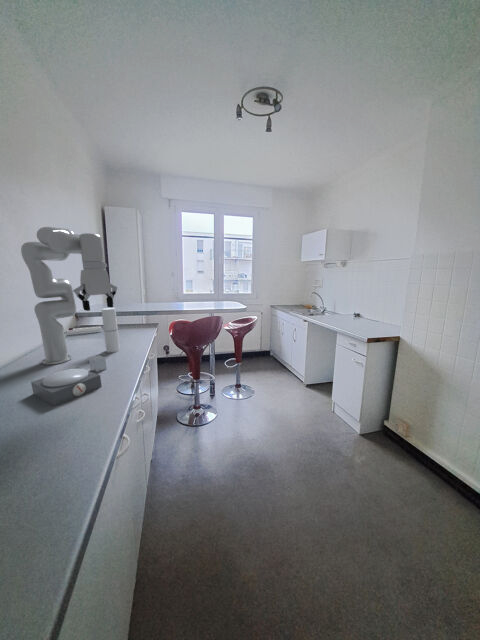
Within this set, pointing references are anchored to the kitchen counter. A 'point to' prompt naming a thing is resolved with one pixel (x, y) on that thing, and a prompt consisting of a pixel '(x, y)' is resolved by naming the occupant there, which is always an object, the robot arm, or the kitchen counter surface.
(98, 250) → the robot arm
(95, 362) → the steel spacer
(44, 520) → the kitchen counter surface
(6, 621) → the kitchen counter surface
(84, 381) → the kitchen scale
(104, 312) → the cylindrical container
